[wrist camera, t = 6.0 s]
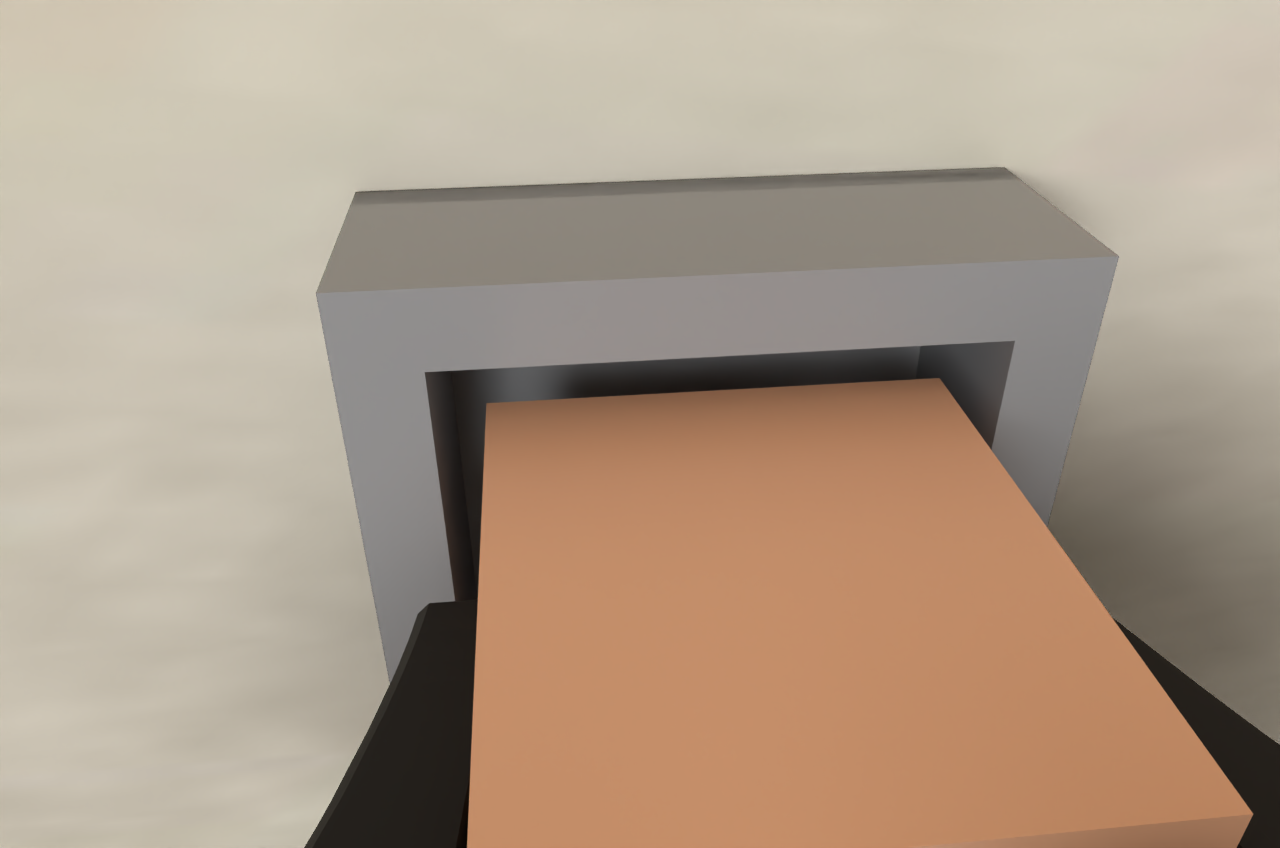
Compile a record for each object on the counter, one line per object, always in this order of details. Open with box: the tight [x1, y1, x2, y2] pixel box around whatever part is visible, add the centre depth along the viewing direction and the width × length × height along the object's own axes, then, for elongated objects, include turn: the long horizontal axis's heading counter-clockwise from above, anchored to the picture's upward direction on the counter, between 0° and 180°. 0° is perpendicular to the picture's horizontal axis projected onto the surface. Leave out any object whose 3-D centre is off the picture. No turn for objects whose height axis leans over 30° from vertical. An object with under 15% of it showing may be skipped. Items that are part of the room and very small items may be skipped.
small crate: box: [467, 378, 1253, 848], centre depth 9 cm, size 4×4×5 cm
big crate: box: [316, 168, 1119, 683], centre depth 12 cm, size 7×7×2 cm
